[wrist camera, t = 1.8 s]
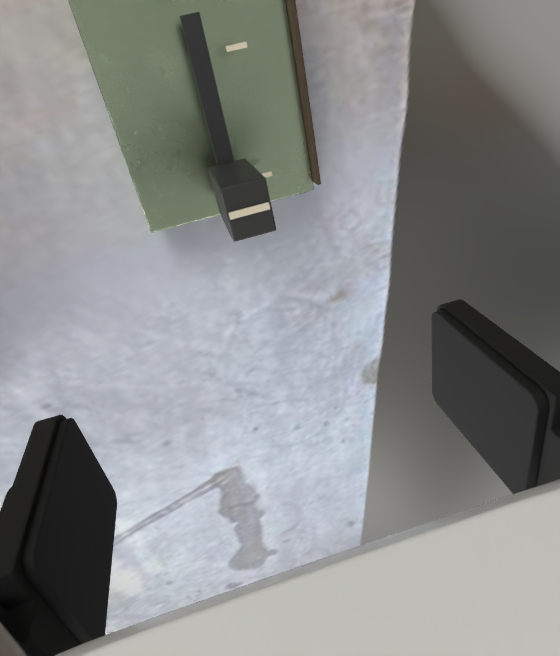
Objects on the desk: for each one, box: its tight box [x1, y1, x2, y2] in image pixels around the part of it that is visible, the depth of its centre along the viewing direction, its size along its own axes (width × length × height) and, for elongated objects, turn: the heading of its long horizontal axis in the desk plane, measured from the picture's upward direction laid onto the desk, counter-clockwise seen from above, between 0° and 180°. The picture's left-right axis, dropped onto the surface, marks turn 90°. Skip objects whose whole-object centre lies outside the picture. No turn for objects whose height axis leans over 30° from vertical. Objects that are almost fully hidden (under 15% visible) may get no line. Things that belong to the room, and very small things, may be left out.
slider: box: [208, 158, 276, 241], centre depth 22 cm, size 2×2×5 cm
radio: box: [68, 0, 314, 233], centre depth 23 cm, size 10×17×5 cm, turn 11°
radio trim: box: [180, 0, 321, 185], centre depth 24 cm, size 6×12×4 cm, turn 11°
